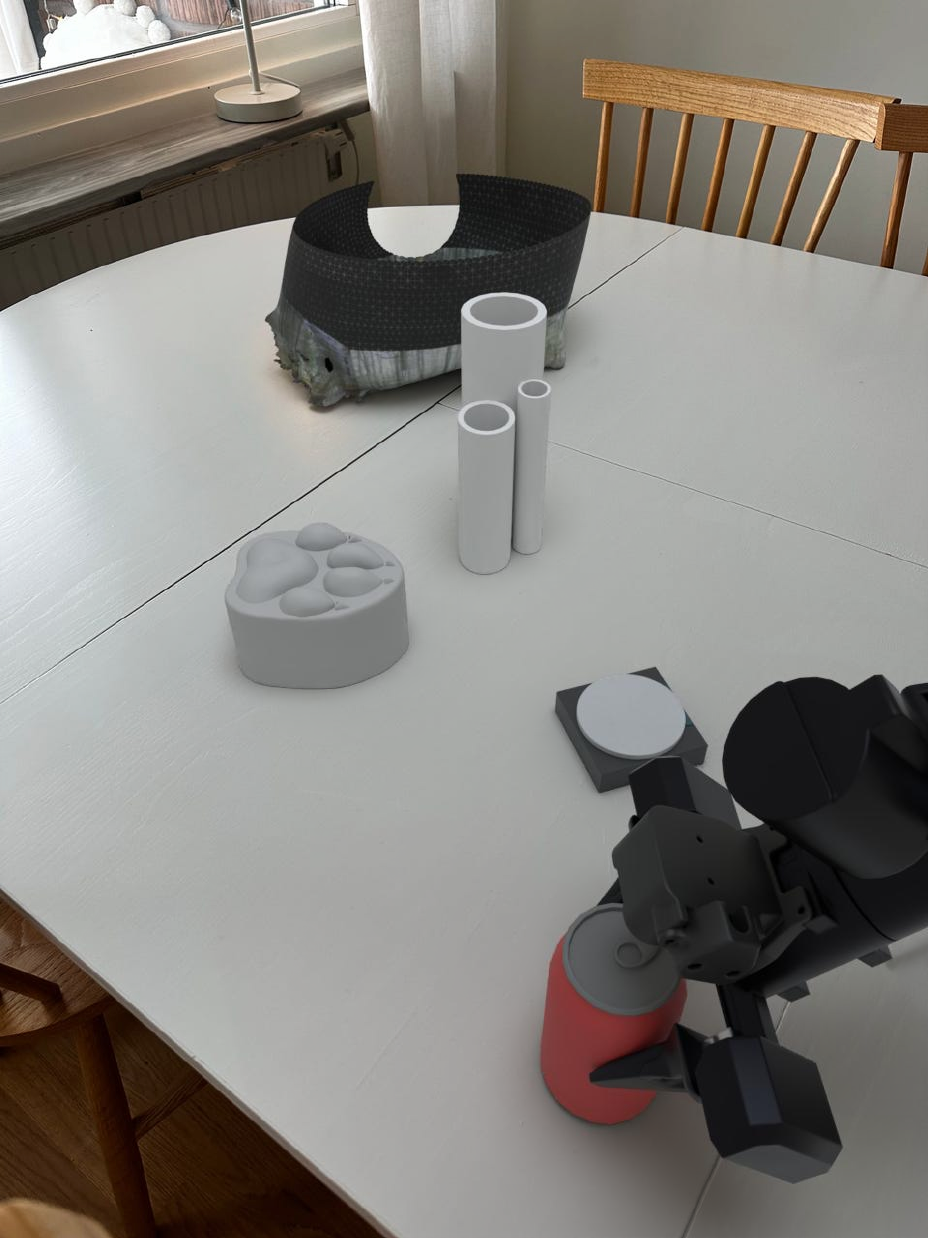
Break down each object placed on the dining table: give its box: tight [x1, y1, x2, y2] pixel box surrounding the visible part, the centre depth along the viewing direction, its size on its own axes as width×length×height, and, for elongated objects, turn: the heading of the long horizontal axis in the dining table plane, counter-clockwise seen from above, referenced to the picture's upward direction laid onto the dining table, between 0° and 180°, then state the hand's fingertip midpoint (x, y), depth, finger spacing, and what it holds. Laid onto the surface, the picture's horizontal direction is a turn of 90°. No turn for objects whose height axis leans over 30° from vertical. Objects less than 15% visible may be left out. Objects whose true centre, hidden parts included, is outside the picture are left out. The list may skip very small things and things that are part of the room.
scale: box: [554, 666, 709, 794], centre depth 70 cm, size 8×8×2 cm
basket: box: [264, 173, 593, 408], centre depth 107 cm, size 28×35×16 cm
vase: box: [457, 293, 552, 575], centre depth 81 cm, size 11×7×20 cm, turn 178°
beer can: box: [539, 903, 688, 1125], centre depth 49 cm, size 7×7×12 cm
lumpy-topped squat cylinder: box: [224, 522, 410, 690], centre depth 75 cm, size 10×13×9 cm
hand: (583, 1010), depth 49 cm, fingers closed on beer can, 6 cm apart
